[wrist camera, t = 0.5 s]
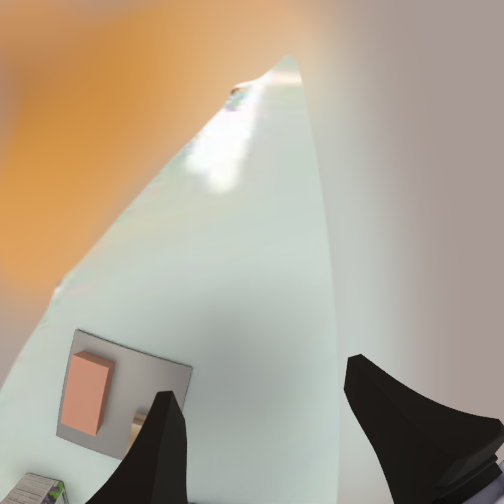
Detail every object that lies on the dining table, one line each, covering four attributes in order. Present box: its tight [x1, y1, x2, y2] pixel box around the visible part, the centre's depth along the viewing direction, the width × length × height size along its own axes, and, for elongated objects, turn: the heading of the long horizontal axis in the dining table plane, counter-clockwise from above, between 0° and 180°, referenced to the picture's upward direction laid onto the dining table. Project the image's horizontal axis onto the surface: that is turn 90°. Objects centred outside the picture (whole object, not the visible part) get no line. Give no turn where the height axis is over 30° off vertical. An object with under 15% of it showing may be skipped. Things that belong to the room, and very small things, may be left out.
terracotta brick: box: [61, 351, 115, 436], centre depth 27 cm, size 8×4×4 cm, turn 165°
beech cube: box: [126, 412, 147, 454], centre depth 27 cm, size 4×4×4 cm
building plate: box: [56, 329, 192, 460], centre depth 29 cm, size 14×14×1 cm
